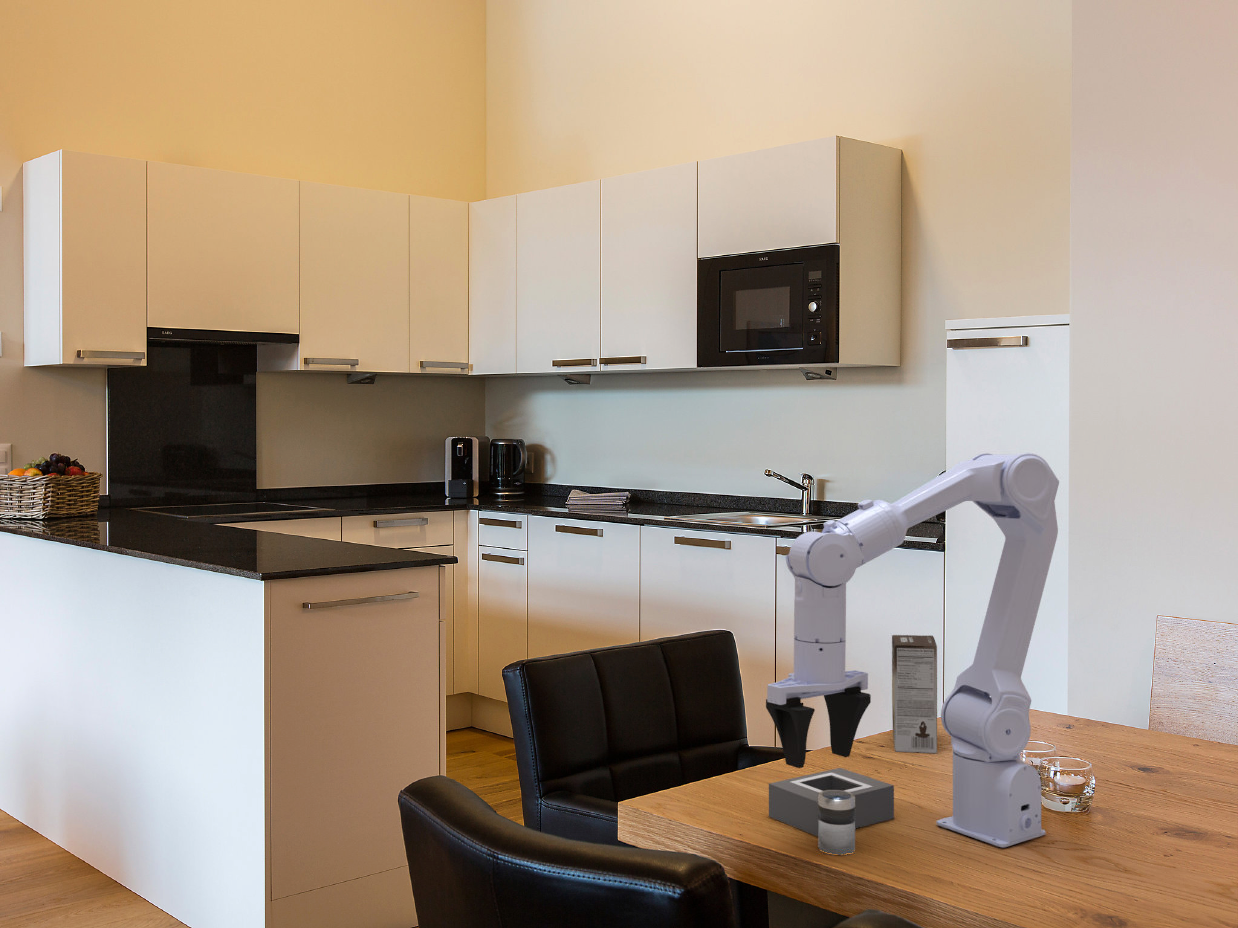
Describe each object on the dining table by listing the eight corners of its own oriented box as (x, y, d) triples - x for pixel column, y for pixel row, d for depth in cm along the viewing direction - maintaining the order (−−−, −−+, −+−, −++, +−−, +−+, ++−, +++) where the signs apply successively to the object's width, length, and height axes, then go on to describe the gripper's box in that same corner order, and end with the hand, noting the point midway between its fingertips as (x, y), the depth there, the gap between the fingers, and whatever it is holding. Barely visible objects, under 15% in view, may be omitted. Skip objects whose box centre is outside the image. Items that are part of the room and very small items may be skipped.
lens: (863, 850, 120) (863, 796, 120) (836, 858, 117) (836, 802, 117) (836, 839, 123) (836, 786, 123) (810, 847, 121) (810, 793, 121)
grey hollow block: (894, 818, 130) (893, 784, 130) (821, 837, 124) (820, 802, 124) (840, 798, 138) (840, 767, 138) (768, 816, 131) (768, 782, 131)
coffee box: (891, 736, 169) (890, 633, 169) (933, 738, 167) (933, 634, 167) (894, 752, 160) (893, 643, 160) (939, 754, 158) (938, 644, 158)
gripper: (835, 629, 129) (834, 742, 129) (748, 640, 120) (746, 762, 120) (883, 637, 123) (881, 756, 123) (795, 649, 114) (793, 777, 114)
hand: (818, 760), depth 121 cm, fingers open, 7 cm apart
